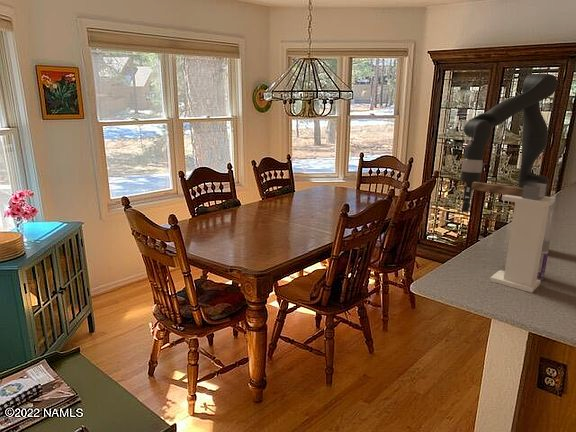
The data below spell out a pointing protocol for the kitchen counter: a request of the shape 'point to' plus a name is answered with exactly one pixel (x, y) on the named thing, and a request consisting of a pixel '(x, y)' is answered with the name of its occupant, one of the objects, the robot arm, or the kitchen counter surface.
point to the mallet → (514, 189)
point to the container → (543, 259)
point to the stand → (524, 243)
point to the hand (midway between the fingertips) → (465, 209)
